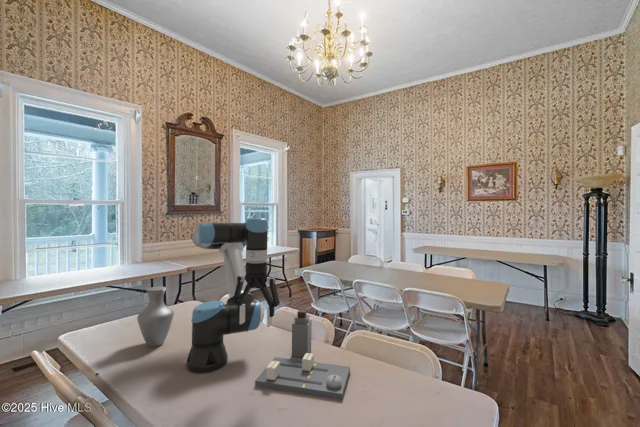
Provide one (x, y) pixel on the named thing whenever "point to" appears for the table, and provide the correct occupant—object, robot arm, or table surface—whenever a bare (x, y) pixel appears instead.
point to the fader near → (273, 370)
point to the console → (307, 379)
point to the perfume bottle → (301, 334)
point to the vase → (155, 318)
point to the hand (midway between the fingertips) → (255, 324)
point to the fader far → (307, 361)
